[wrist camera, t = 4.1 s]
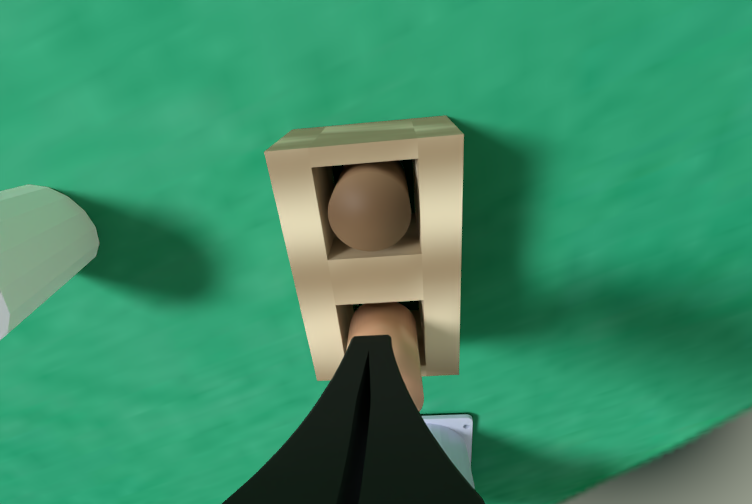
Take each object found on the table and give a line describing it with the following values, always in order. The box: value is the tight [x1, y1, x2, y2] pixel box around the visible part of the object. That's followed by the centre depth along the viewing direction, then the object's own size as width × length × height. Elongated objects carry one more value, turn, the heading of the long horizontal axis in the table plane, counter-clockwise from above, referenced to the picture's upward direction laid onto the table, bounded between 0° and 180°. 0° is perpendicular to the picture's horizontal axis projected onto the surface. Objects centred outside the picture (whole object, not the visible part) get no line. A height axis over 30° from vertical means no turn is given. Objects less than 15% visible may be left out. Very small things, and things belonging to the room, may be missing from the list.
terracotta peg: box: [346, 302, 424, 412], centre depth 18 cm, size 4×4×5 cm
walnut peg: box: [328, 160, 411, 251], centre depth 18 cm, size 4×4×5 cm
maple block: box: [264, 116, 464, 381], centre depth 20 cm, size 13×8×5 cm, turn 5°
